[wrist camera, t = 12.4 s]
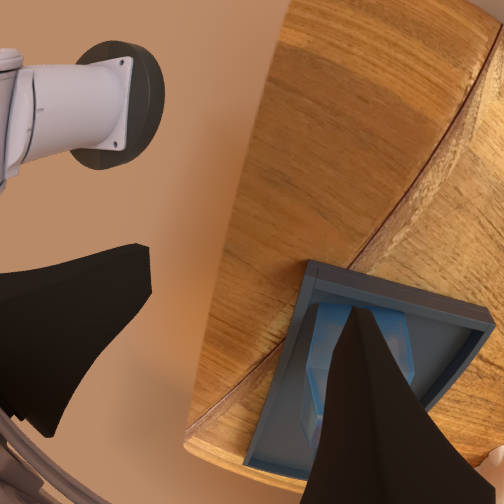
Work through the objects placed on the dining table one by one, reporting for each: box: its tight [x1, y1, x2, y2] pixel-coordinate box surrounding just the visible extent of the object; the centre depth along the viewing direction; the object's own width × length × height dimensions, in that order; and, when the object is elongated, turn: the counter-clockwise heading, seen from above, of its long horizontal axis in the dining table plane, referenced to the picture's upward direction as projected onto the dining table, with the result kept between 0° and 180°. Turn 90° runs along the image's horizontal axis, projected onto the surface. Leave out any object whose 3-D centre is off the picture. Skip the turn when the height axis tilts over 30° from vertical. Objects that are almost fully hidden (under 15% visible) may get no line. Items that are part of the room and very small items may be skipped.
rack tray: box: [242, 259, 496, 481], centre depth 25 cm, size 16×36×2 cm, turn 172°
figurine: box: [474, 445, 504, 504], centre depth 16 cm, size 11×11×15 cm
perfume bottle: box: [300, 302, 415, 468], centre depth 15 cm, size 6×6×12 cm
